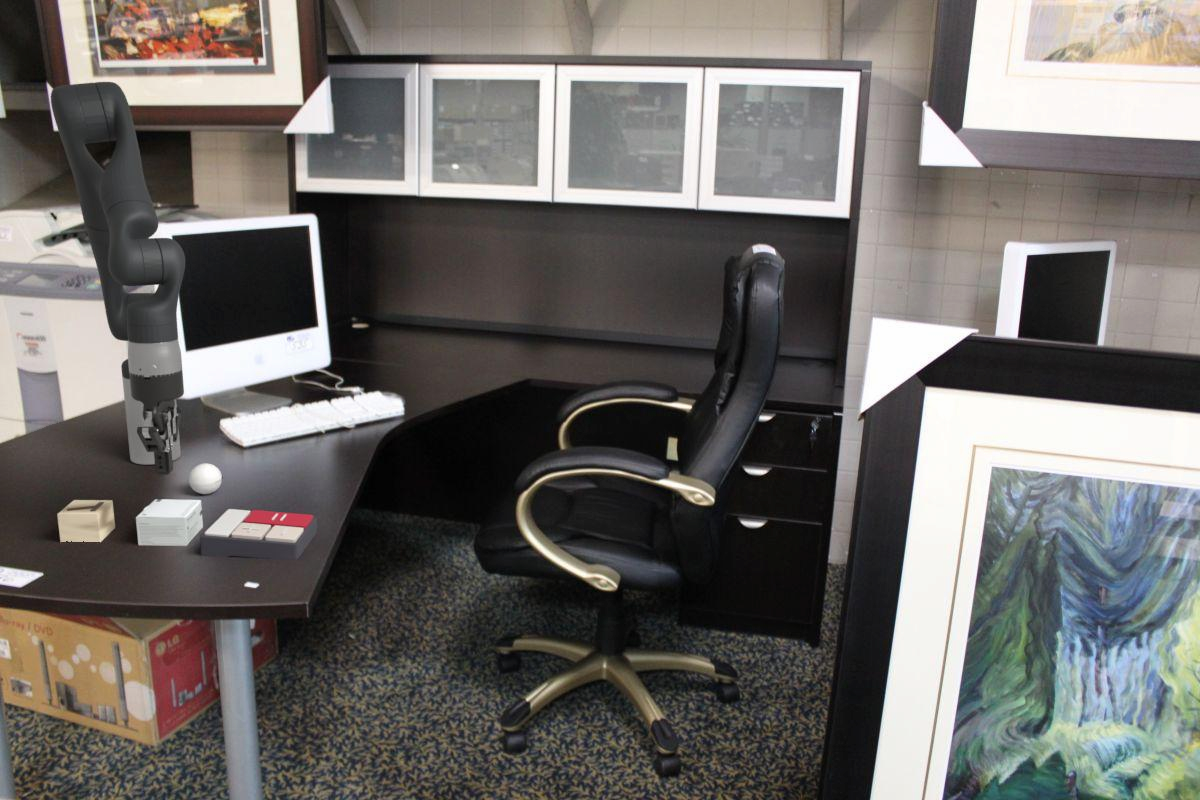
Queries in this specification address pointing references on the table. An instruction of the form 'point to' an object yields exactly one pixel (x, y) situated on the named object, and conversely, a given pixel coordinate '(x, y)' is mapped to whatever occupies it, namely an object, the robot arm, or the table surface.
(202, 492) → the white ball
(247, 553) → the calculator
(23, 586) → the table surface
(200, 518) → the small box
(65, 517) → the numbered block
